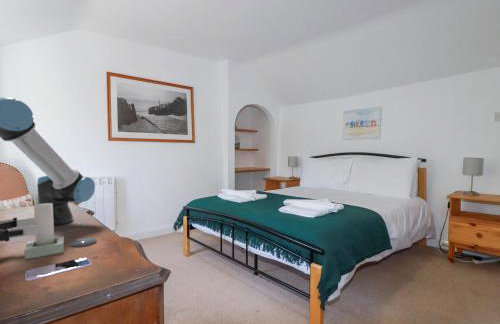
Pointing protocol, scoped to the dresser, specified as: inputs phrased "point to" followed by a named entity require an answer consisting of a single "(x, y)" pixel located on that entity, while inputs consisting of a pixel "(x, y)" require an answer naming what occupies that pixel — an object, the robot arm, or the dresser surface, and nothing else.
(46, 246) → the holder
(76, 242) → the coaster
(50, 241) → the grey tall block
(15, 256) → the dresser surface
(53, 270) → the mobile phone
